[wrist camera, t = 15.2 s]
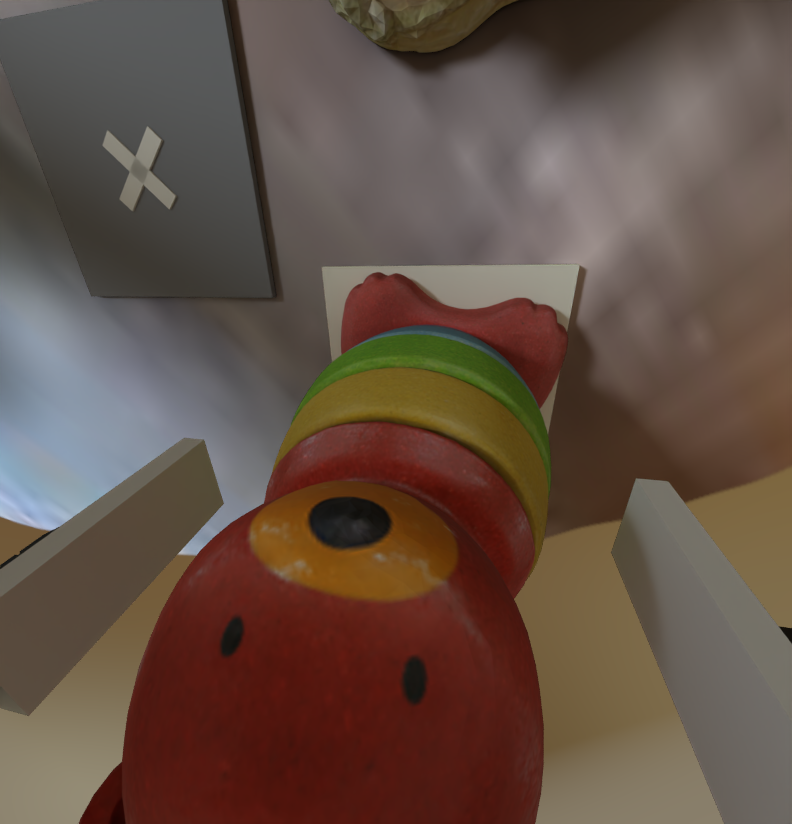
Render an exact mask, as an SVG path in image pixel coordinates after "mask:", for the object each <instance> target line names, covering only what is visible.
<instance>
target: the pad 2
mask: <svg viewBox="0 0 792 824" xmlns="http://www.w3.org/2000/svg"><path fill="white" fill-rule="evenodd" d="M579 266H580V265H579V264H524V265H425V266H326V267H322V275H323V284H324V293H325V302H326V312H327V321H328V330H329V339H330V349H331V358H332V362H333V361H334V360H336V359H337V358H338V357H339V356H341V327H342V318H343V312H344V306H345V302H346V299H347V297H348V295H349V293H350V291H351V290H352V289H353V288H354V287H355V286H357V285H358V284H361V283H363V282H364V280H365V278H366V277H367V276H369V275H370V274H372V273H375V272H381V273H383V274H385V275H388V276H389V275H392V274H395V273H398V274H402V275H404V276H406V277H407V278H409V279H410V280H412V281H413V282H414V283H415V284H416V285H417V286H418V287H419V288H420V289H421V290H422V291H423V292H424V293H426V294H427V295H428V296H429V297H431V298H432V299H434V300H436V301H438V302H440V303H442V304H444V305H447V306H451V307H455V308H460V309H478V308H484V307H489V306H492V305H495V304H498V303H501V302H504V301H506V300H509V299H513V298H528V299H530V300H532V301H533V303H534V304H537V305H539V304H546V305H548V306H551V307H552V308H553V309H554V310H555V311H556V313H557V323H559V324H561V325H563V326H564V327H565V329H566V331H567V330H568V325H569V320H570V314H571V309H572V303H573V298H574V293H575V287H576V282H577V277H578V271H579ZM559 373H560V372H559ZM558 379H559V375H558V377H557V380H556V382H555V384H554V386H553V388H552V390H551V392H550V394H549V395H548V397H547V399H546V401H545V402H544V404H543V405H542V407H541V408H540V411H541V414H542V417H543V419H544V423H545V426H546V429H547V433H548V432H549V427H550V421H551V416H552V411H553V405H554V400H555V395H556V389H557V384H558Z"/></svg>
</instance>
